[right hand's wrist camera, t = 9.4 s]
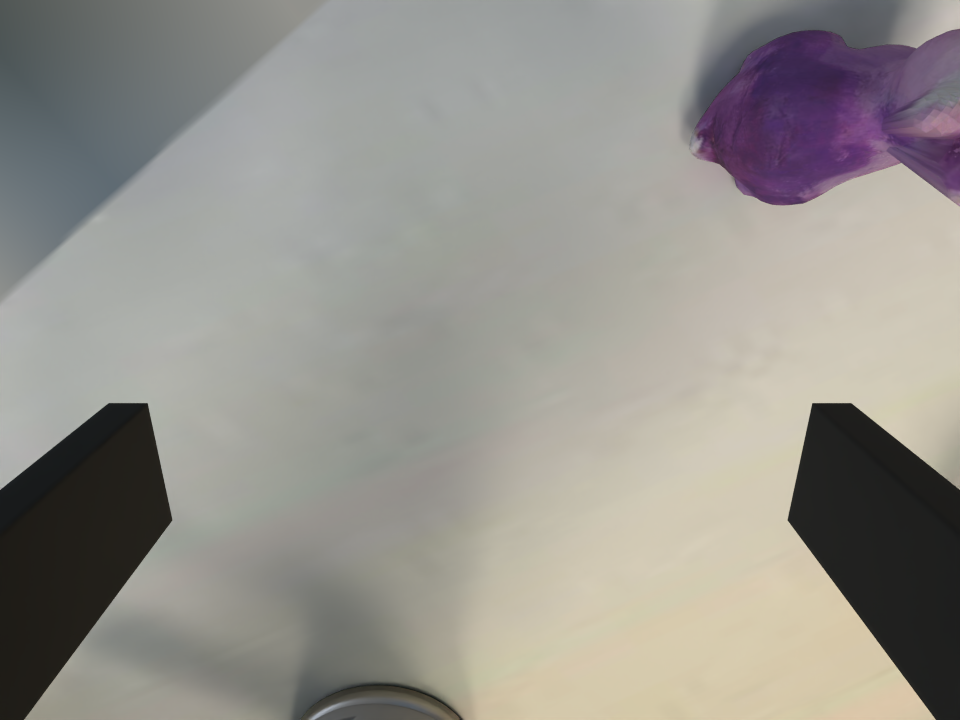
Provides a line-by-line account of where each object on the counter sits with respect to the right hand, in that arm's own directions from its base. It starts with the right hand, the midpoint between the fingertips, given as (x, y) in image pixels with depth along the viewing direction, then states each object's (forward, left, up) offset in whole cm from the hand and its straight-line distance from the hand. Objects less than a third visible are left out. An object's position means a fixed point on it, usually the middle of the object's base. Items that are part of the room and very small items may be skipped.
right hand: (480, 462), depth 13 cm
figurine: (+11, -15, -27) cm, 32 cm away
